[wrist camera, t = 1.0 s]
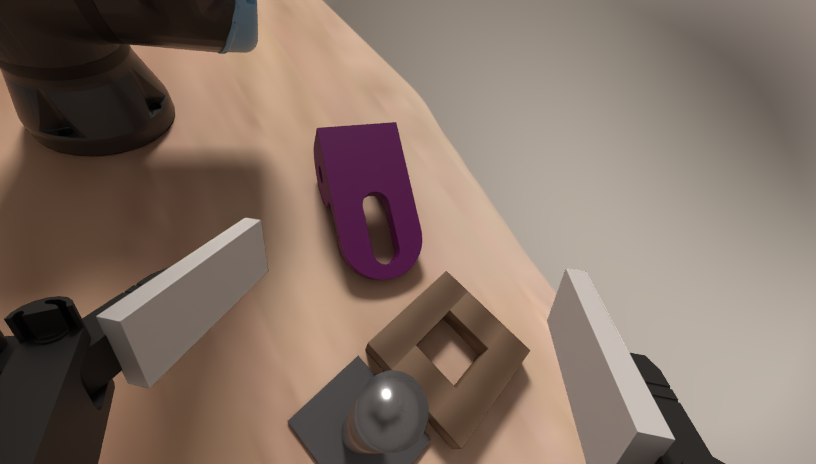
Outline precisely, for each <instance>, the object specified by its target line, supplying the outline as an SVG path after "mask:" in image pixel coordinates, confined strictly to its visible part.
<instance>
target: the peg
mask: <svg viewBox="0 0 816 464" xmlns="http://www.w3.org/2000/svg"><path fill="white" fill-rule="evenodd" d="M428 415H429V408H428V401H427V398H426V395H425V392H424V390H423V388H422V387H421V385H420V384H419V383H418V382H417V381H416V380H415V379H414V378H413V377H412V376H410V375H408V374H407V373H404V372H401V371H395V370H390V371H384V372H381V373H379V374H377V375H376V376H374V377H373V378H371V379H370V380H369V381H368V382H367V383H366V385H365V386H364V388H363V389H362V391H361V393H360V394H359V396H358V398H357V400H356V401H355V403H354V405H353V407H352V408H351V410H350V412H349V414H348V415H347V417H346V419H345V421H344V423H343V425H342V431H341V435H342V440H343V443H344V445H345V446H346V448H347V449H348V450H349V451H351V452H353V453H356V454H372V453H398V452H402V451H404V450H407V449H409V448H410V447H412V446H413V445H414V444H415V443H416V442H417V441H418V440H419V439H420V437H421V436H422V434H423V433H424V431H425V428H426V425H427V421H428Z"/></svg>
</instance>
